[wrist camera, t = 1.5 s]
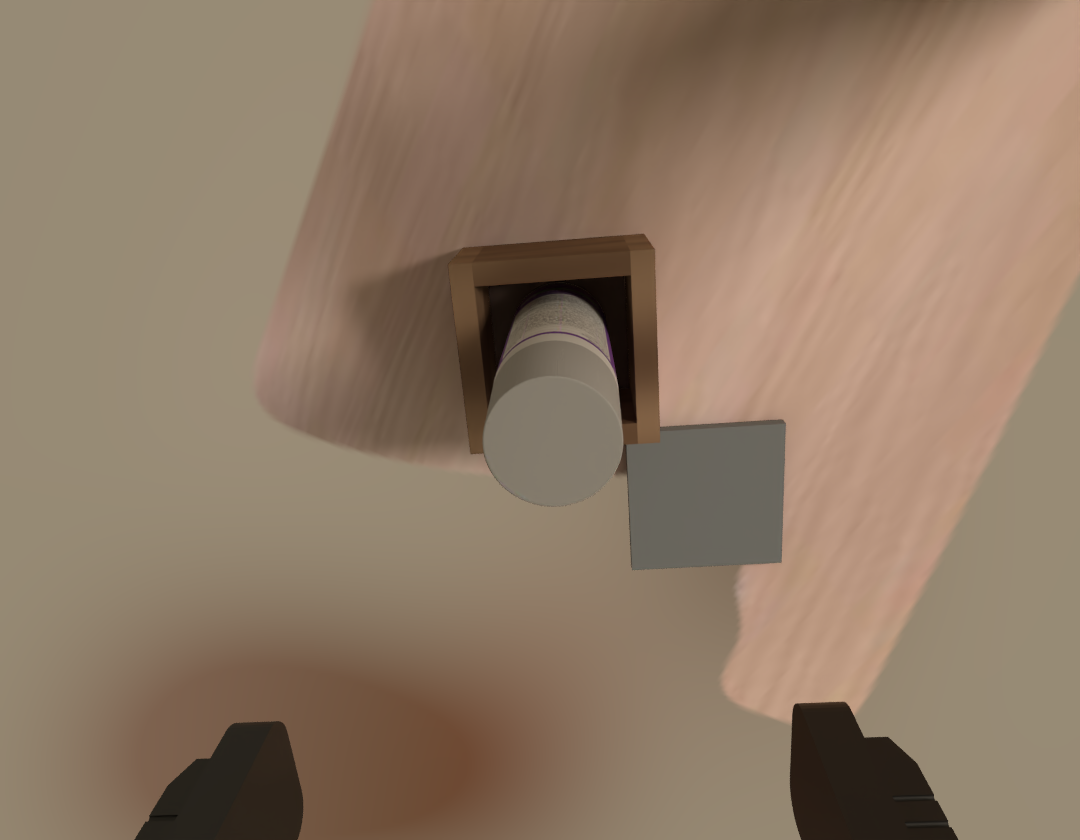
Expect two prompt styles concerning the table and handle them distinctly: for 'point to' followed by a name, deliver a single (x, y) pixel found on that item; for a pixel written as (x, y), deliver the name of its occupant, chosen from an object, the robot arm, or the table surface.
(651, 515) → the mat
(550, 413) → the container
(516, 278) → the holder
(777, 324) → the table surface
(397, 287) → the table surface
